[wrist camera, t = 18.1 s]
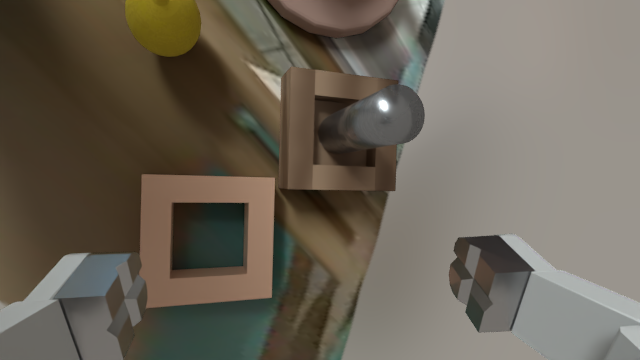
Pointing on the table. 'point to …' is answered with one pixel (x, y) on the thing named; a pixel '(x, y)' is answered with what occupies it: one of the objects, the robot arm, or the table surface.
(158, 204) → the socket collar
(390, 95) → the steel peg
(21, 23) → the table surface
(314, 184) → the square peg hole block
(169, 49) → the lemon
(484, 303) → the robot arm
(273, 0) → the hourglass
